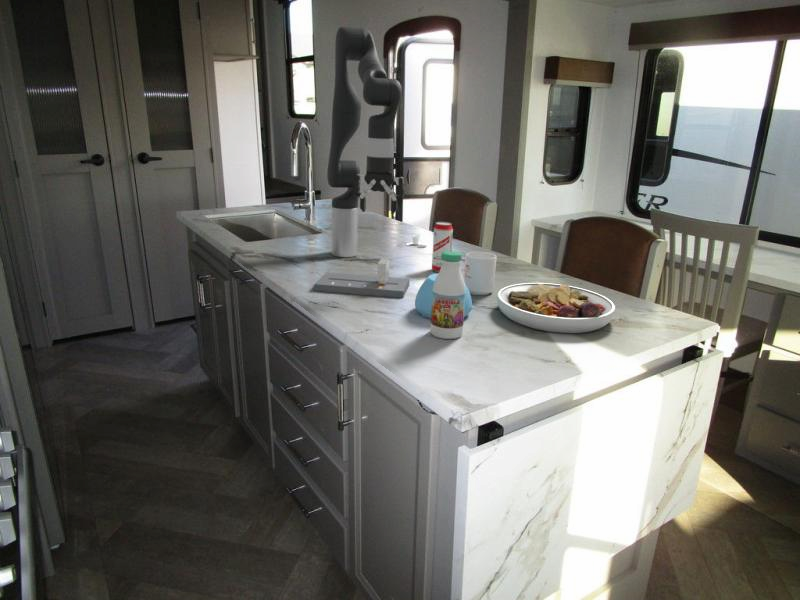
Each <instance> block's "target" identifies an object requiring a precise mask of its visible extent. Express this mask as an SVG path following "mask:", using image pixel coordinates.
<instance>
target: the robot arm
mask: <svg viewBox="0 0 800 600" xmlns="http://www.w3.org/2000/svg"><path fill="white" fill-rule="evenodd" d="M334 47H335V48H334V49H335V50H334V51H335V52H334V58H335V59H334V61H335V62H334V73H335V74H334V75H335V76H334V89H333V99H332V100H333V102H332V112H331V113H332V114H331V138H330V147H329V155H328V163H327V172H326V173H327V175H326V176H327V183H328V186H329V187H331V188H334V189H335V188H337V189H339V188H341V189H342V188H347V190H346V191H345V192H344V193H342V194H340V195H338V196H335V197H333V198H332V200H331V255H333V256H334V257H339V258H353V257H356V256H357V255H358V242H359V241H358V240H359V239H358V236H359V234H358V233H359V231H358V229H359V224H358V223H359V209H360V210H361V212H363V213H365V212H366V210H367V197H366V196H368V194H369V193H370V192H371V191H373V192H380V193H384V192H387V195H389V197H390V198H391V207H390V209H391V212H390V213H391V215H394V214H395V213H396V212H397V211H398V201H399V200H403V199H404V198H405V178H404V176H400V177H395V176H394V158H395V156H394V154H395V144H394V136H395V135H394V130H395V120H396V117H397V112H398V110H399V109H398V108H399V106H400V103H401V100H402V95H403V94H402V93H403V88H402V84H401V83H400V81H399V80H397V79H396V78H388V75H387V72H386V71H385V68H384V67H383V65H382V64H381V62H380V58H379V55H378V51H377V48H376V44H375V40H374V36H373V34H372V33H371V31H370V30H368V29H367V28H361V27H350V26H349V27H348V26H341V27H338V29H337V31H336V35H335V44H334ZM348 61H352V62H353V61H354V62H358V65H357V66H358V67H357V72H358V76H359V79H360V81H361V82H362V85H363V88H362V98H363V100H364V102H365V104H368V105H369V106H374V107H375V106H376V107H378V106H379V107H385V109H384V111H383V112H382V113H379V114H374V115H371V116H370V117H369V118H368V129H367V130H368V133H367V136H368V137H367V145H366V171H365V172H366V173H365V175H363V174H360V173H361V172H360V165H359V163H358V161H357V160H350V159H349V160H348V159H347V160H342V159H341V157H342V154H343V151H344V149H345V148H346V146H347V144H348V143H349V142H350V140H351V139H352V137H353V136H354V135H355V133H356V132H357V131H358V130H359V127H360V123H361V116H362V115H361V114H362V113H361V112H362V103H361V98H360V96H359V95H358V93H357V91H356V89H355V87H354V85H353V83H352V81H351V78H350V75H349V71H348V67H347V66H348ZM363 181H365V183H366V184H367V186H366V187H365V188H364V189H363V191H361V183H362V182H363ZM394 182H395V185H396V186H398V194H397V193H396V192H395V190H394V189H393V187H392V185H393V183H394Z"/></svg>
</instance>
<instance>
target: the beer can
mask: <svg viewBox="0 0 800 600" xmlns="http://www.w3.org/2000/svg"><path fill="white" fill-rule="evenodd" d="M453 233H454V229H453V226H452V223H451V222H448V221H437V222H435V225H434V227H433V237H432V240H433V241H432V242H433V243H432V255H431V269H432V270H433V272H436V273H439V272H440V269H441V266H442V262H441V260H442V259H441V255H442V252H444V251H453V250H452V249H453Z"/></svg>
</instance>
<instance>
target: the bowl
mask: <svg viewBox="0 0 800 600" xmlns="http://www.w3.org/2000/svg"><path fill="white" fill-rule="evenodd" d="M497 306H498V308H499V309H500V311H501V312H502V313H503V315H505V316H506V317H507V318H508V319H510V320H511V321H513V322H514V323H518V324H519V325H521V326H525V327H526V328H530V329H534V330H540V331H543V332H551V333H558V334H583V333H589V332H594V331H597V330H600V329H601V328H602V329H603V328H604V327H606V325H608V324H609V323H610V322H611V321H612V319H613V317H614V316H615V311H616V305H615V304H614V302H612V300H610V299H609V298H608V297H606V296H604V295H602V294H599V293H598V292H594V291H592V290H588V289H584V288H581V287H577V286H572V285H568V284H559V283H558V284H557V283H546V282H525V283H515V284H511V285H508V286H507V285H506V286H505V287H502V288H501V289H500V290H498V292H497Z"/></svg>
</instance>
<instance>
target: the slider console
mask: <svg viewBox="0 0 800 600" xmlns="http://www.w3.org/2000/svg"><path fill="white" fill-rule="evenodd" d="M377 276H378V275H376V276H375V275H366V274H365V275H364V274H353V273H340V272H327V271H326V272H325V273H324V274H323V275H322V276H321V277H320V278H319V279H318V280H317V281H316V282H315V283H314V284H313V285H314V286H313V287H314V288H313V291H314V292H315V291H316V292H325V293H336V294H348V295H349V294H350V295H360V296H361V295H363V296H373V297H374V296H375V297H386V298H387V297H388V298H397V299H404V297H405V295H406V293H407V292H408V289H409V287H410V281H411V279H410V278H406V277H405V278H404V277H402V278H401V277H393V276H392V277H391V276H389V277H388V280H387V282H386V284H378V281H377Z"/></svg>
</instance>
